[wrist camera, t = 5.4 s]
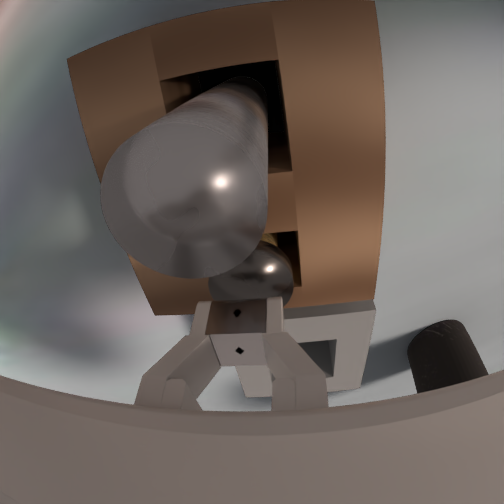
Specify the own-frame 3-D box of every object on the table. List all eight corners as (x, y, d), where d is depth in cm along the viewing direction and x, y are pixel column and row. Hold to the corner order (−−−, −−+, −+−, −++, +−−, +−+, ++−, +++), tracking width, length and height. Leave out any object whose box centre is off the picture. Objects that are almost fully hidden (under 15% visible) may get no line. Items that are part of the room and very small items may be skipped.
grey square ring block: (229, 274, 24) (221, 323, 20) (360, 262, 23) (376, 309, 19) (248, 353, 30) (245, 397, 26) (351, 344, 28) (359, 388, 24)
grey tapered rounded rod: (211, 80, 16) (79, 146, 5) (263, 72, 16) (253, 107, 4) (220, 128, 18) (131, 283, 6) (270, 121, 17) (276, 271, 6)
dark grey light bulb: (223, 180, 19) (199, 257, 12) (282, 173, 19) (290, 248, 12) (233, 230, 21) (218, 319, 14) (287, 225, 21) (295, 314, 14)
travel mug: (463, 348, 29) (510, 499, 13) (405, 370, 31) (438, 530, 15) (469, 307, 25) (538, 486, 9) (402, 333, 27) (449, 529, 11)
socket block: (131, 53, 15) (66, 59, 9) (335, 20, 13) (374, 0, 8) (181, 246, 23) (154, 315, 17) (348, 229, 21) (373, 299, 16)
